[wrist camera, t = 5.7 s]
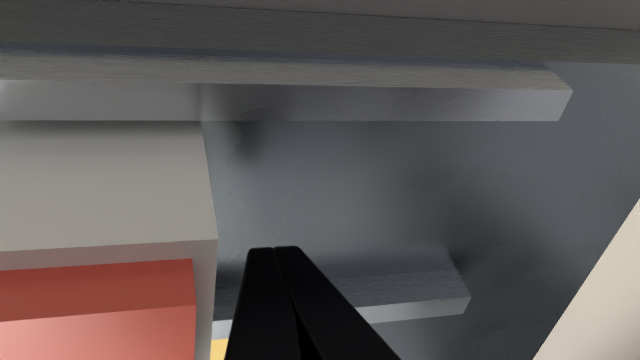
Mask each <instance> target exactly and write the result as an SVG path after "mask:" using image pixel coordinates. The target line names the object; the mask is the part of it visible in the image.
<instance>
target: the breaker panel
mask: <svg viewBox="0 0 640 360" xmlns="http://www.w3.org/2000/svg"><path fill="white" fill-rule="evenodd" d="M0 120H84V121H201V125H202V131H203V138H204V145H205V151H206V158H207V165H208V172H209V178H210V185H211V192H212V198H213V205H214V212H215V218H216V225H217V232H218V239H219V240H218V254H217V268H216V282H215V296H214V310H213V324H212V338H211V340H219V339H228V338H229V334H230V329H231V325H232V320H233V316H234V311H235V307H236V302H237V298H238V293H239V288H240V284H241V279H242V275H243V270H244V266H245V261H246V256H247V252H248V250H249V249H250V248H257V247H272V248H274V247H276V246H291V245H295V246H298V247H299V248H301V249H302V251H303V252H304V253H305V254H306V255H307V256H308V257H309V258H310V259H311V260H312V262H313V263H314V264H315V265H316V266H317V267H318V268H319V269H320V270H321V271H322V273H323V274H324V275H325V276H326V277H327V278H328V279H329V280H330V281H331V282H332V284H333V285H334V286H335V287H336V288H337V289H338V290H339V291H340V292H341V293H342V295H343V296H344V297H345V298H346V299H347V300H348V301H349V302H350V303H351V304H352V306H353V307H354V308H355V309H356V310H357V311H358V312H359V313H360V314H361V315H362V317H363V318H364V319H365V320H366V321H367V322H368V323H369V324H370V325H371V327H372V328H373V329H374V330H375V331H376V332H377V333H378V334H379V335H380V336H381V338H382V339H383V340H384V341H385V342H386V343H387V344H388V345H389V346H390V347H391V349H392V350H393V351H394V352H395V353H396V354H397V355H398V356H399V357H400V358H401V360H532V359H533V358H534V356H535V355H536V353H537V352H538V350H539V349H540V347H541V346H542V344H543V343H544V341H545V340H546V338H547V337H548V335H549V334H550V332H551V331H552V329H553V328H554V326H555V325H556V323H557V322H558V320H559V319H560V317H561V316H562V314H563V313H564V311H565V310H566V308H567V307H568V305H569V304H570V302H571V301H572V299H573V298H574V296H575V295H576V293H577V292H578V290H579V289H580V287H581V286H582V284H583V283H584V281H585V280H586V278H587V277H588V275H589V274H590V272H591V271H592V269H593V268H594V266H595V265H596V263H597V262H598V260H599V259H600V257H601V255H602V254H603V252H604V251H605V249H606V248H607V246H608V245H609V243H610V242H611V240H612V239H613V237H614V236H615V234H616V233H617V231H618V230H619V228H620V227H621V225H622V224H623V222H624V221H625V219H626V218H627V216H628V215H629V213H630V212H631V210H632V209H633V207H634V206H635V204H636V203H637V201H638V200H639V198H640V31H632V30H615V29H597V28H579V27H562V26H544V25H526V24H509V23H491V22H473V21H455V20H438V19H420V18H402V17H385V16H367V15H349V14H332V13H314V12H296V11H278V10H261V9H243V8H225V7H208V6H190V5H172V4H154V3H137V2H119V1H101V0H0Z"/></svg>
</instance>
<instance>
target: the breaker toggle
mask: <svg viewBox="0 0 640 360" xmlns="http://www.w3.org/2000/svg"><path fill="white" fill-rule="evenodd" d="M218 240H219V239H218V232H217V225H216V218H215V212H214V205H213V198H212V192H211V185H210V178H209V172H208V165H207V158H206V151H205V145H204V138H203V131H202V125H201V121H84V120H0V360H210V352H211V338H212V324H213V310H214V296H215V282H216V268H217V254H218Z"/></svg>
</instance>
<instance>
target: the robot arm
mask: <svg viewBox="0 0 640 360" xmlns="http://www.w3.org/2000/svg"><path fill="white" fill-rule="evenodd" d="M224 360H401V358H400V357H399V356H398V355H397V354H396V353H395V352H394V351H393V350H392V349H391V347H390V346H389V345H388V344H387V343H386V342H385V341H384V340H383V339H382V338H381V336H380V335H379V334H378V333H377V332H376V331H375V330H374V329H373V328H372V327H371V325H370V324H369V323H368V322H367V321H366V320H365V319H364V318H363V317H362V315H361V314H360V313H359V312H358V311H357V310H356V309H355V308H354V307H353V306H352V304H351V303H350V302H349V301H348V300H347V299H346V298H345V297H344V296H343V295H342V293H341V292H340V291H339V290H338V289H337V288H336V287H335V286H334V285H333V284H332V282H331V281H330V280H329V279H328V278H327V277H326V276H325V275H324V274H323V273H322V271H321V270H320V269H319V268H318V267H317V266H316V265H315V264H314V263H313V262H312V260H311V259H310V258H309V257H308V256H307V255H306V254H305V253H304V252H303V251H302V249H301V248H299V247H298V246H295V245H291V246H276V247H274V248H272V247H257V248H250V249H249V250H248V252H247V256H246V261H245V266H244V270H243V275H242V279H241V284H240V288H239V293H238V298H237V302H236V307H235V311H234V316H233V320H232V325H231V329H230V334H229V339H228V343H227V348H226V352H225V357H224Z"/></svg>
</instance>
